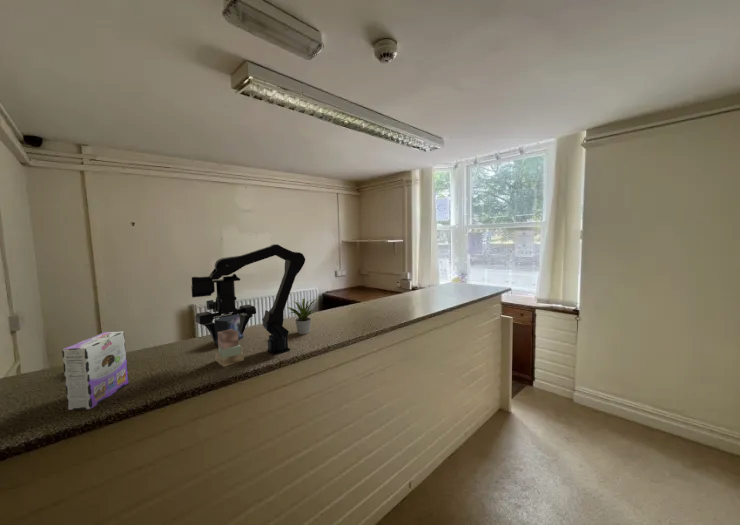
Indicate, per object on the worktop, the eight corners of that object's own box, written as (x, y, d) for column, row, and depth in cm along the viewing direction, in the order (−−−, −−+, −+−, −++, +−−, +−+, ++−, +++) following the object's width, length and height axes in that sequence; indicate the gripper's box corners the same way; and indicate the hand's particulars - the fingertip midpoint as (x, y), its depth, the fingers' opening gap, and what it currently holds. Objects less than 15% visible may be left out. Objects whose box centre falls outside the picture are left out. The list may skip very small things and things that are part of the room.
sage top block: (236, 349, 110) (236, 341, 110) (241, 354, 105) (240, 345, 105) (218, 353, 106) (218, 345, 106) (222, 358, 102) (222, 349, 101)
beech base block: (235, 356, 111) (235, 348, 111) (243, 361, 106) (243, 353, 106) (215, 362, 106) (215, 353, 106) (223, 367, 101) (222, 359, 101)
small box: (228, 346, 120) (227, 320, 119) (214, 345, 122) (213, 320, 121) (244, 337, 131) (243, 314, 130) (231, 336, 132) (230, 313, 131)
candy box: (109, 384, 90) (104, 331, 88) (129, 383, 90) (125, 330, 89) (66, 410, 76) (60, 348, 75) (91, 409, 76) (85, 347, 75)
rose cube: (232, 342, 109) (231, 328, 108) (238, 345, 105) (237, 331, 105) (218, 345, 105) (217, 332, 105) (223, 349, 102) (223, 335, 101)
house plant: (310, 325, 148) (310, 292, 146) (326, 331, 137) (325, 296, 136) (284, 331, 138) (282, 297, 137) (299, 339, 128) (297, 301, 126)
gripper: (243, 288, 116) (245, 327, 117) (189, 295, 103) (191, 339, 104) (255, 291, 108) (257, 333, 110) (199, 299, 95) (202, 346, 96)
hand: (228, 337), depth 105 cm, fingers open, 9 cm apart
